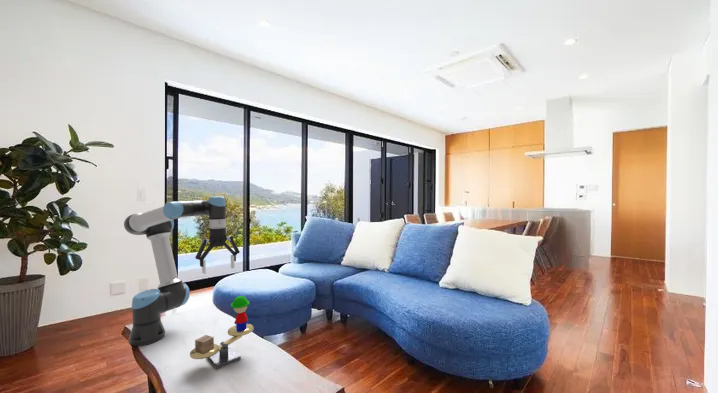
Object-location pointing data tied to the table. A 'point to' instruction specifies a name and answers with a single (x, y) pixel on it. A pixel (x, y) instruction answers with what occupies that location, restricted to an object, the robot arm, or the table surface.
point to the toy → (240, 312)
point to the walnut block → (204, 344)
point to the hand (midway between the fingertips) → (218, 270)
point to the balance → (224, 349)
